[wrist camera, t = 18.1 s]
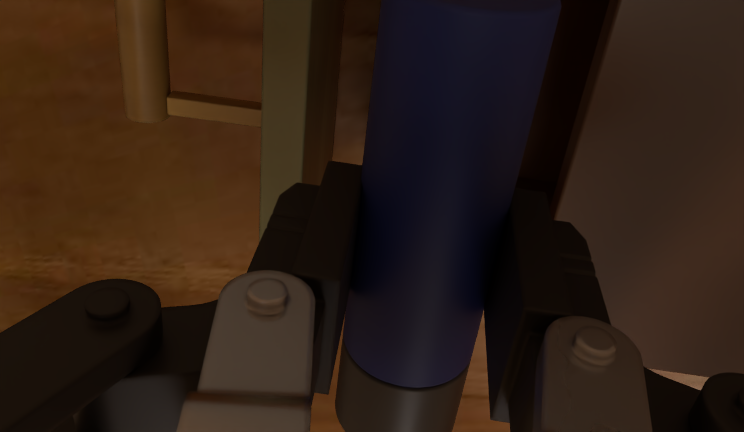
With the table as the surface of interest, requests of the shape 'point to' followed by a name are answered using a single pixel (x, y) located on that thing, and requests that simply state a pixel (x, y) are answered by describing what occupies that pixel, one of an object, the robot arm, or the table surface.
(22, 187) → the table surface
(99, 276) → the table surface
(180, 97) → the drawer
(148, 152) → the table surface
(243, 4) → the table surface
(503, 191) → the blue cylinder
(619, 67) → the cabinet
